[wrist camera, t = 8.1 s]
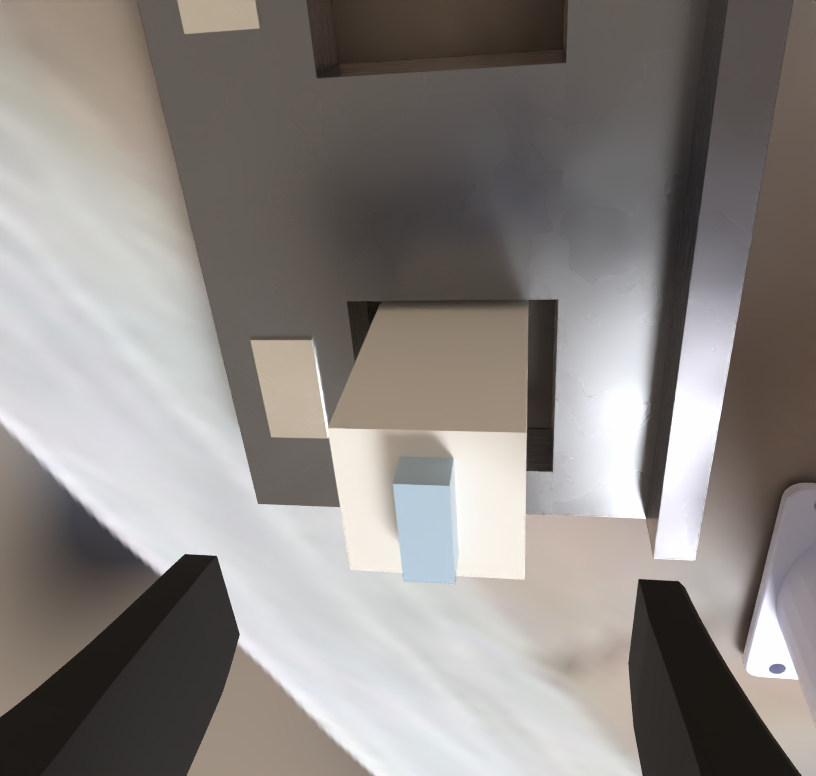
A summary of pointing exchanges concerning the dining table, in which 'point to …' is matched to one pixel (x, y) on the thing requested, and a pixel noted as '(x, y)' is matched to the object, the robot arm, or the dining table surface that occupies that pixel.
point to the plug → (436, 441)
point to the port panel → (482, 224)
